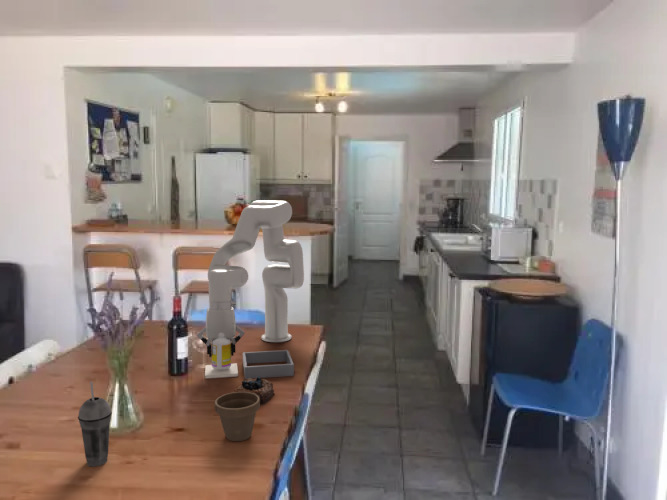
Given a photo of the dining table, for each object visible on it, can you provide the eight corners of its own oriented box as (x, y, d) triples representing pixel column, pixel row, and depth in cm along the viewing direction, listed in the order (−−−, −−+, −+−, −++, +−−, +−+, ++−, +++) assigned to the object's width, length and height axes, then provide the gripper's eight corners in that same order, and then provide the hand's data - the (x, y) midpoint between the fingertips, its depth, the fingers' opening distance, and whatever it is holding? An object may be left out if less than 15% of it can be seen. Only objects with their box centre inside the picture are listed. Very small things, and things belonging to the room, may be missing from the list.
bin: (242, 363, 202) (242, 352, 202) (288, 360, 206) (287, 350, 205) (244, 378, 186) (244, 367, 186) (293, 375, 190) (293, 364, 189)
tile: (205, 367, 197) (205, 365, 197) (237, 365, 199) (236, 363, 199) (204, 378, 186) (204, 375, 186) (238, 376, 189) (237, 373, 188)
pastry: (277, 392, 175) (277, 374, 174) (263, 407, 163) (263, 388, 163) (245, 389, 178) (245, 371, 177) (229, 403, 166) (228, 384, 165)
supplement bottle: (233, 364, 196) (233, 329, 194) (228, 370, 189) (228, 334, 188) (214, 363, 196) (215, 328, 195) (209, 369, 190) (209, 333, 188)
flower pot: (217, 449, 137) (216, 410, 136) (213, 429, 148) (212, 393, 147) (263, 443, 140) (263, 405, 139) (256, 424, 151) (256, 389, 150)
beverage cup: (118, 454, 134) (114, 374, 132) (107, 469, 127) (103, 385, 125) (87, 454, 134) (83, 374, 132) (74, 469, 127) (70, 385, 124)
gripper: (245, 301, 195) (246, 350, 198) (194, 303, 192) (196, 353, 194) (246, 306, 188) (247, 357, 190) (193, 308, 185) (195, 360, 187)
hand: (221, 354), depth 192 cm, fingers open, 7 cm apart
